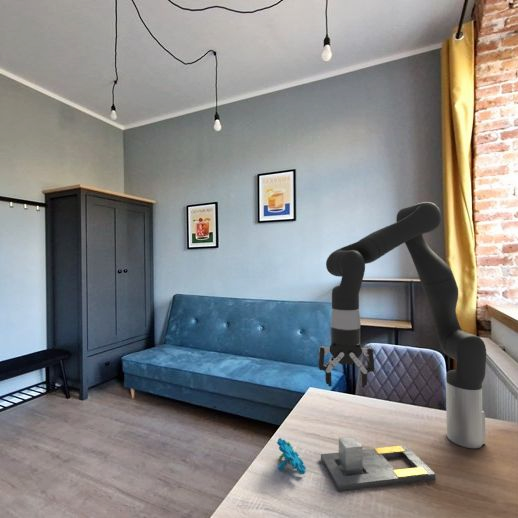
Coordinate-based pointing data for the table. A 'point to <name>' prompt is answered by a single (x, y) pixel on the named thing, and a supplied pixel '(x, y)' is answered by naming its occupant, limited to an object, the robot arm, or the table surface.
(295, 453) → the gear
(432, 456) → the table surface
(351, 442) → the steel block
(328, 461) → the fixture plate
